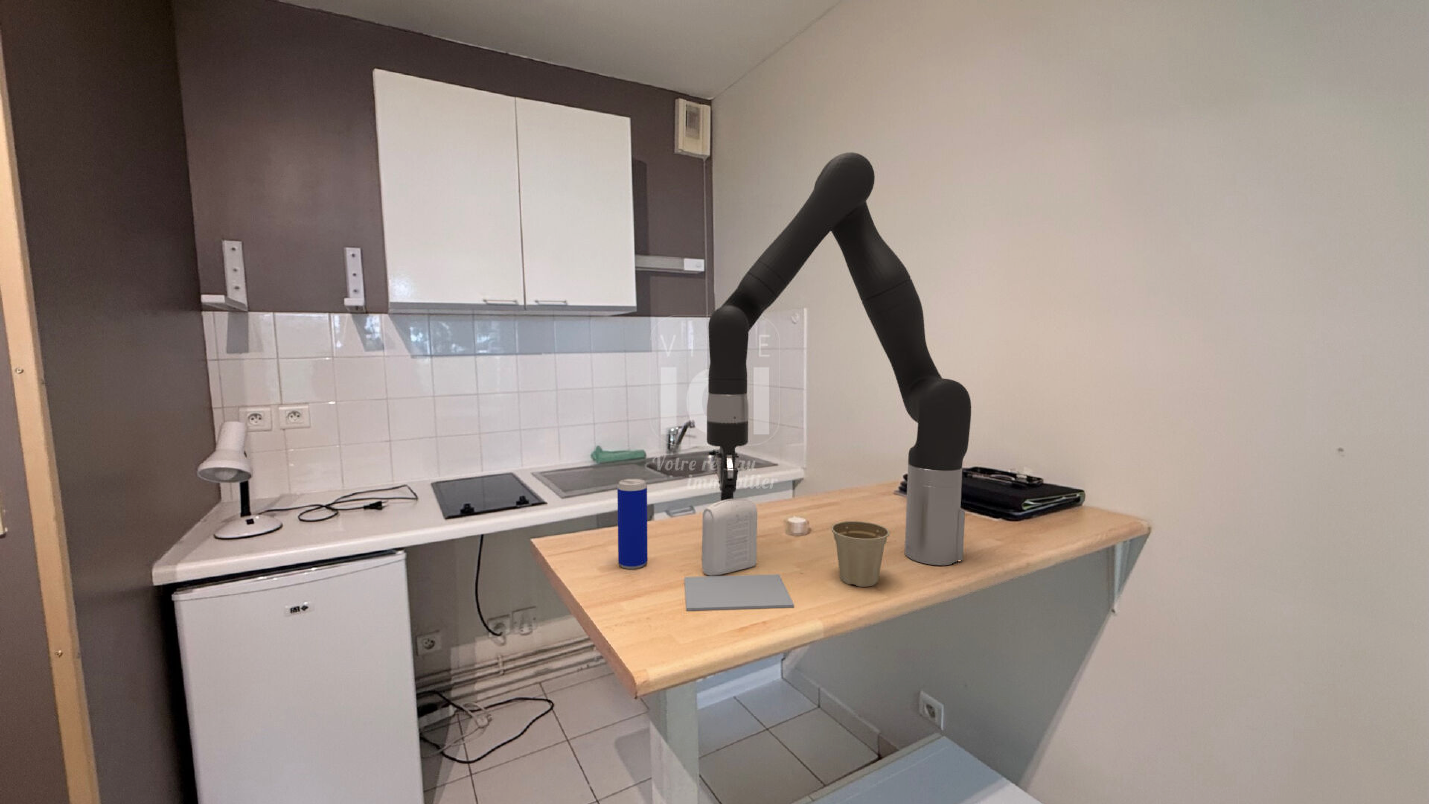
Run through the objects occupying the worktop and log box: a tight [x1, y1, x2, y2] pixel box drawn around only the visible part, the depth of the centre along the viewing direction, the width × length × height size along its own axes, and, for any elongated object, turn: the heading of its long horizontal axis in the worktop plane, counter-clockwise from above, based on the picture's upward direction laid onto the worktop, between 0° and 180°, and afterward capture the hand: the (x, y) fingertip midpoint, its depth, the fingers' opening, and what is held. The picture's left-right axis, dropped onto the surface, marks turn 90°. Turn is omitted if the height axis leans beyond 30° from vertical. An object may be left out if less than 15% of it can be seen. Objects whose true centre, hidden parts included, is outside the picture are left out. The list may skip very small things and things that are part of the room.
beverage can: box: [616, 478, 649, 570], centre depth 95 cm, size 5×5×15 cm
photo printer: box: [701, 497, 758, 576], centre depth 94 cm, size 10×4×12 cm, turn 123°
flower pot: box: [830, 520, 891, 588], centre depth 90 cm, size 9×9×9 cm
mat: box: [684, 573, 795, 612], centre depth 85 cm, size 16×11×1 cm
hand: (726, 511), depth 99 cm, fingers closed
